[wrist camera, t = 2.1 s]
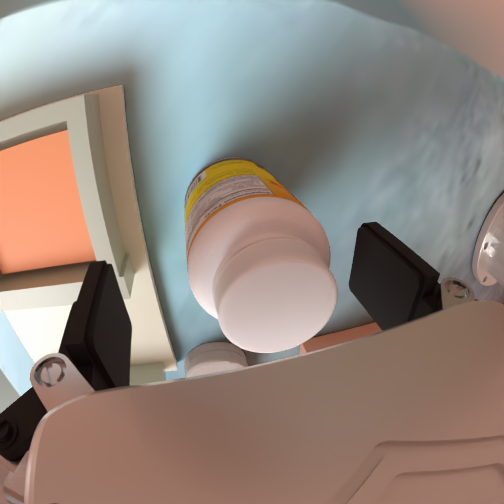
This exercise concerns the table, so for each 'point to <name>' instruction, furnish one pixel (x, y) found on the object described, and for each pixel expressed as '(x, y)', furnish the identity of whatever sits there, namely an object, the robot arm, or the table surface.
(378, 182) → the table surface
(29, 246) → the cradle plate
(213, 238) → the supplement bottle
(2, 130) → the cream tray with frame
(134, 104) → the table surface
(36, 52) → the table surface
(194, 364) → the electronic device
